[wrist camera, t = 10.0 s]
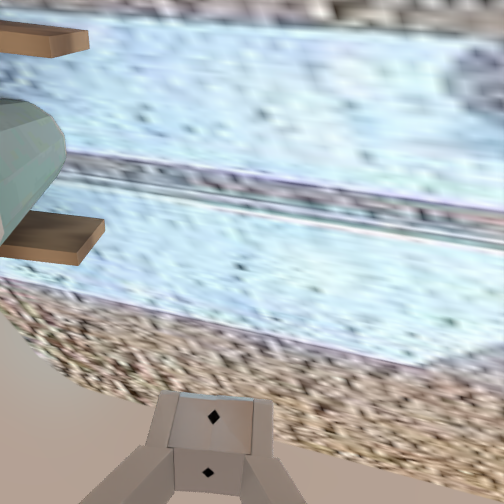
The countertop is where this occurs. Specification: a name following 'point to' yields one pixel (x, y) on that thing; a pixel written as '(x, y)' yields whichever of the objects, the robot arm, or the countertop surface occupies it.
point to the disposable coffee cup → (26, 159)
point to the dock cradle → (42, 223)
